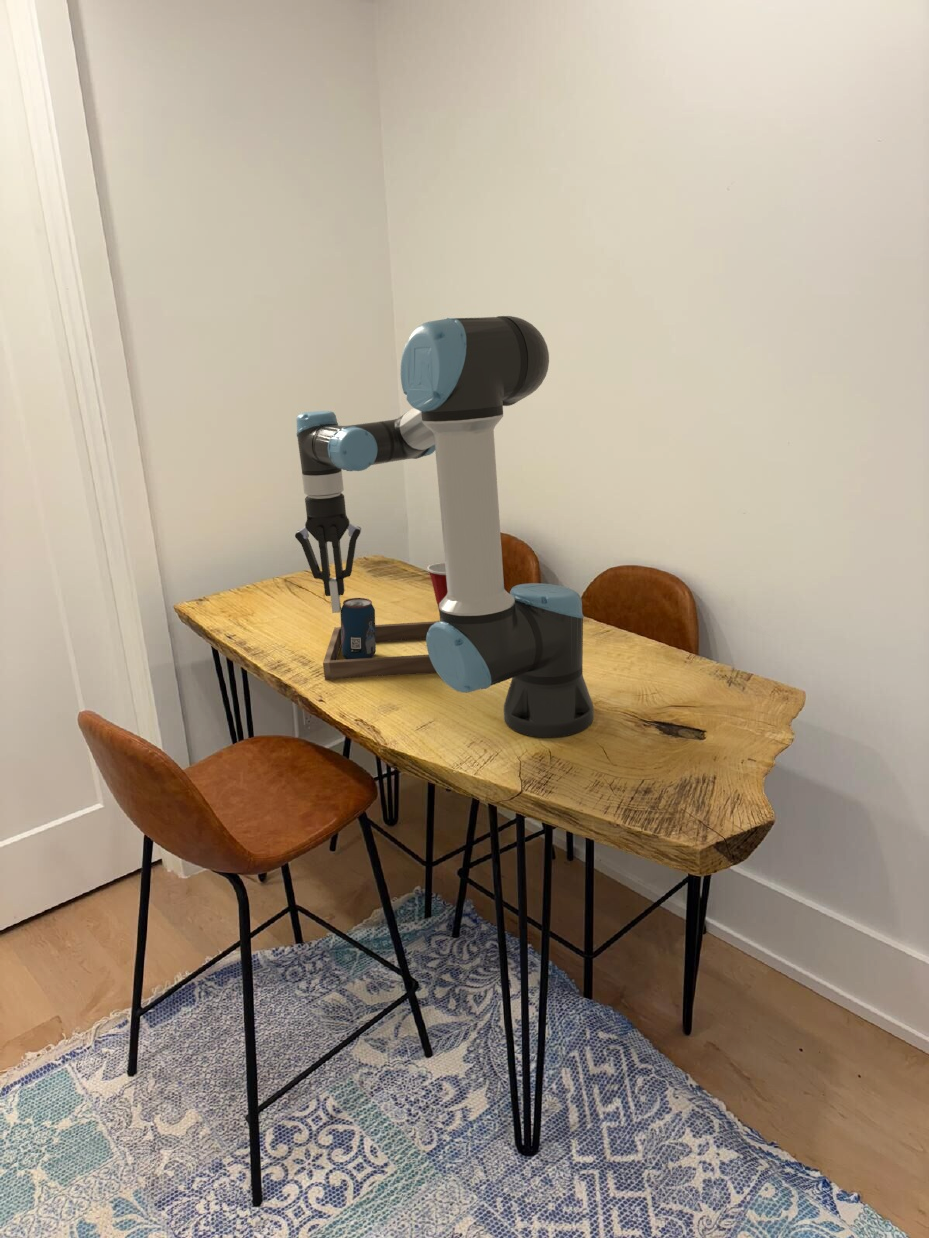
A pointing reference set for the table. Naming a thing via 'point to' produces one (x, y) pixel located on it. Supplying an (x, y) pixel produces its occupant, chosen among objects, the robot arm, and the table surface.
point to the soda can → (358, 628)
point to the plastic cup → (438, 580)
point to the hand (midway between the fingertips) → (336, 610)
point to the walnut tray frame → (381, 664)
